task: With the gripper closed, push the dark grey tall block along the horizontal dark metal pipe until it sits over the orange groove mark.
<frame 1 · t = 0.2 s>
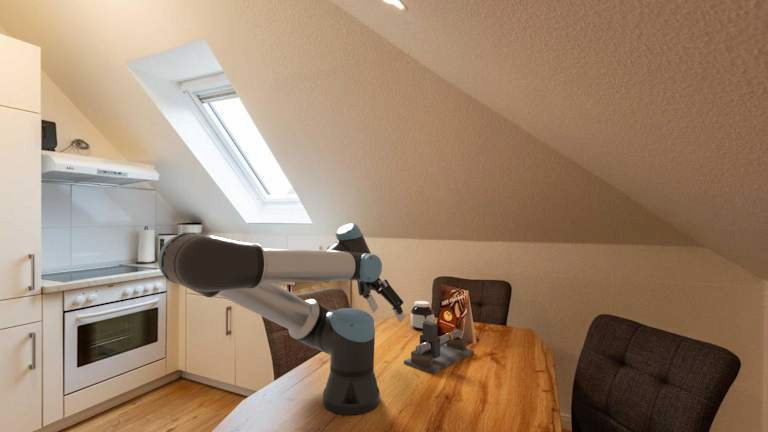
hand: (388, 314, 128), 15 cm above the table, tool tilted 35°, fingers open, 13 cm apart
spread jar: (422, 327, 167), on the table
dark grey tall block: (429, 339, 125), point 8 cm above the table, slide at 0.0 cm
pipe rig: (440, 358, 129), on the table
pipe: (440, 341, 130), on the pipe rig, point 6 cm above the table
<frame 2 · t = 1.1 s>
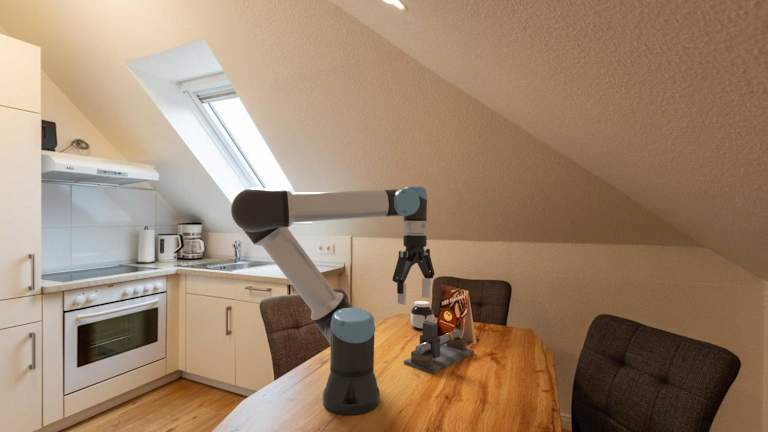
hand: (414, 300, 119), 23 cm above the table, tool pointing down, fingers open, 12 cm apart
nothing on the table moved.
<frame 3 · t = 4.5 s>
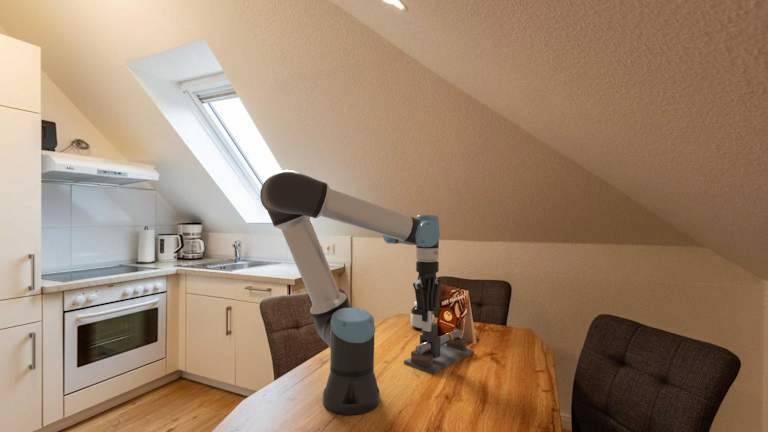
hand: (426, 330, 123), 12 cm above the table, tool pointing down, fingers closed
dark grey tall block: (430, 339, 125), point 8 cm above the table, slide at 0.1 cm, touching gripper
everything else where it was.
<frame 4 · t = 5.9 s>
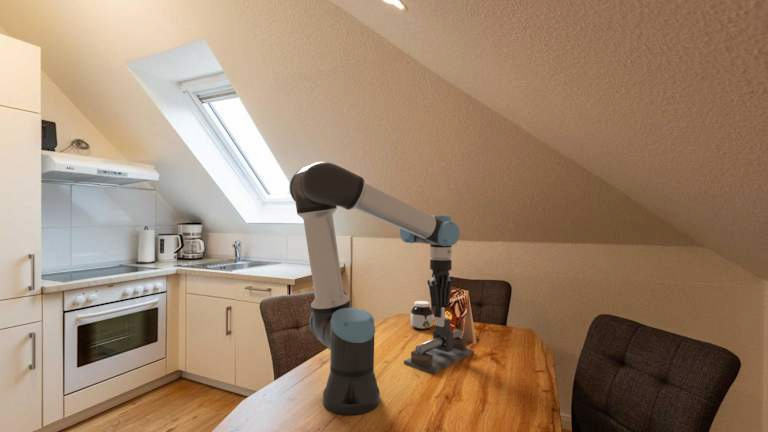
hand: (440, 325, 129), 12 cm above the table, tool pointing down, fingers closed
dark grey tall block: (443, 333, 131), point 8 cm above the table, slide at 8.2 cm, touching gripper
everything else where it was.
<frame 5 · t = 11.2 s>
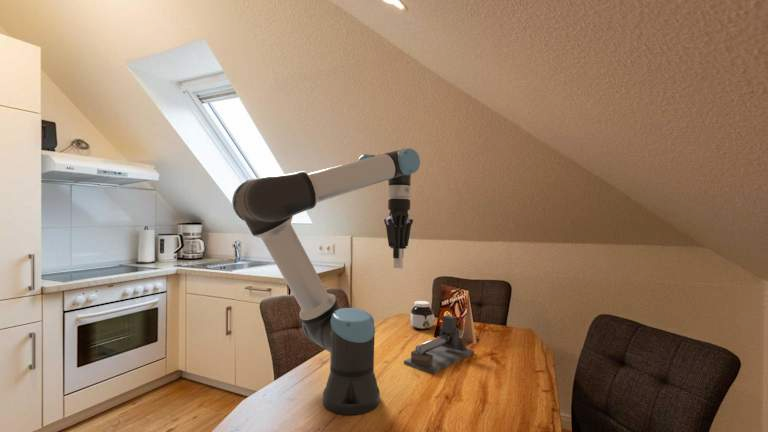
hand: (398, 267, 125), 32 cm above the table, tool pointing down, fingers closed
dark grey tall block: (449, 331, 134), point 8 cm above the table, slide at 12.2 cm
everything else where it was.
at the end: dark grey tall block slide at 12.2 cm; the gripper is holding nothing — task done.
